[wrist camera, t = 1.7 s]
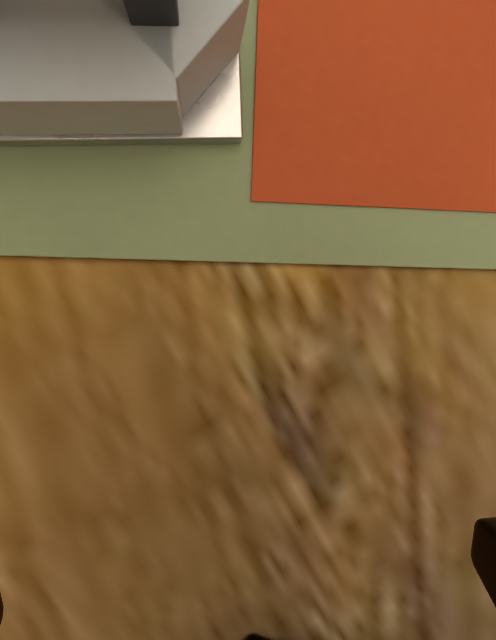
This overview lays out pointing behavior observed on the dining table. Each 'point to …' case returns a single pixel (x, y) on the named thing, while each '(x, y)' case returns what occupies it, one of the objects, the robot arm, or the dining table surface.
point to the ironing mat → (298, 153)
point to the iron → (120, 72)
